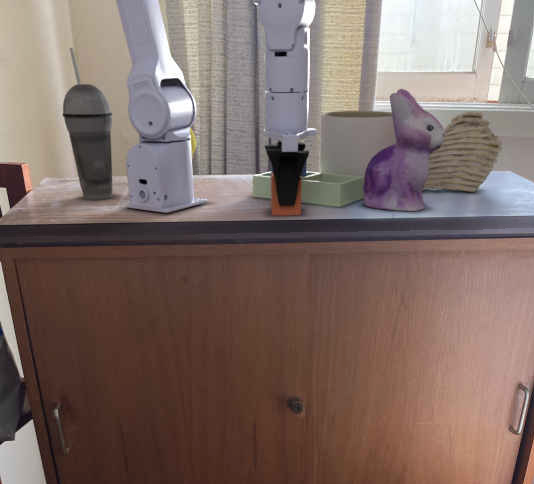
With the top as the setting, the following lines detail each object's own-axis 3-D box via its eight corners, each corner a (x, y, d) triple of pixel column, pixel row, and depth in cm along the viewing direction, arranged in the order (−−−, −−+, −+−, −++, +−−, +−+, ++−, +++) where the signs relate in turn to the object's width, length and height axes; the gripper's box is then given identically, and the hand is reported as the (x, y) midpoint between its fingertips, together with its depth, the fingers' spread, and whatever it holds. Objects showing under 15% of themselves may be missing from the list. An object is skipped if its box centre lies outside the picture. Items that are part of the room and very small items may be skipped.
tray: (364, 198, 106) (365, 176, 104) (339, 207, 100) (340, 184, 98) (280, 189, 113) (280, 168, 111) (252, 196, 107) (252, 175, 106)
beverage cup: (110, 202, 104) (92, 47, 93) (66, 200, 105) (43, 47, 95) (128, 193, 110) (112, 47, 99) (86, 192, 111) (66, 47, 101)
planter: (329, 196, 107) (333, 118, 101) (310, 183, 118) (312, 111, 112) (404, 192, 109) (412, 116, 103) (379, 180, 120) (384, 110, 114)
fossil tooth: (403, 194, 115) (494, 185, 114) (410, 199, 109) (505, 189, 108) (403, 118, 109) (498, 107, 108) (410, 119, 104) (510, 108, 103)
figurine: (438, 212, 97) (453, 90, 89) (366, 212, 97) (375, 91, 89) (425, 199, 105) (438, 87, 97) (359, 199, 105) (366, 87, 97)
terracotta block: (300, 215, 95) (301, 176, 93) (272, 215, 95) (272, 177, 93) (298, 209, 99) (299, 172, 96) (270, 209, 99) (270, 172, 96)
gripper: (323, 94, 83) (319, 212, 90) (311, 88, 95) (309, 192, 102) (265, 95, 83) (266, 212, 90) (261, 89, 95) (262, 192, 102)
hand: (285, 202), depth 96 cm, fingers closed on terracotta block, 4 cm apart
